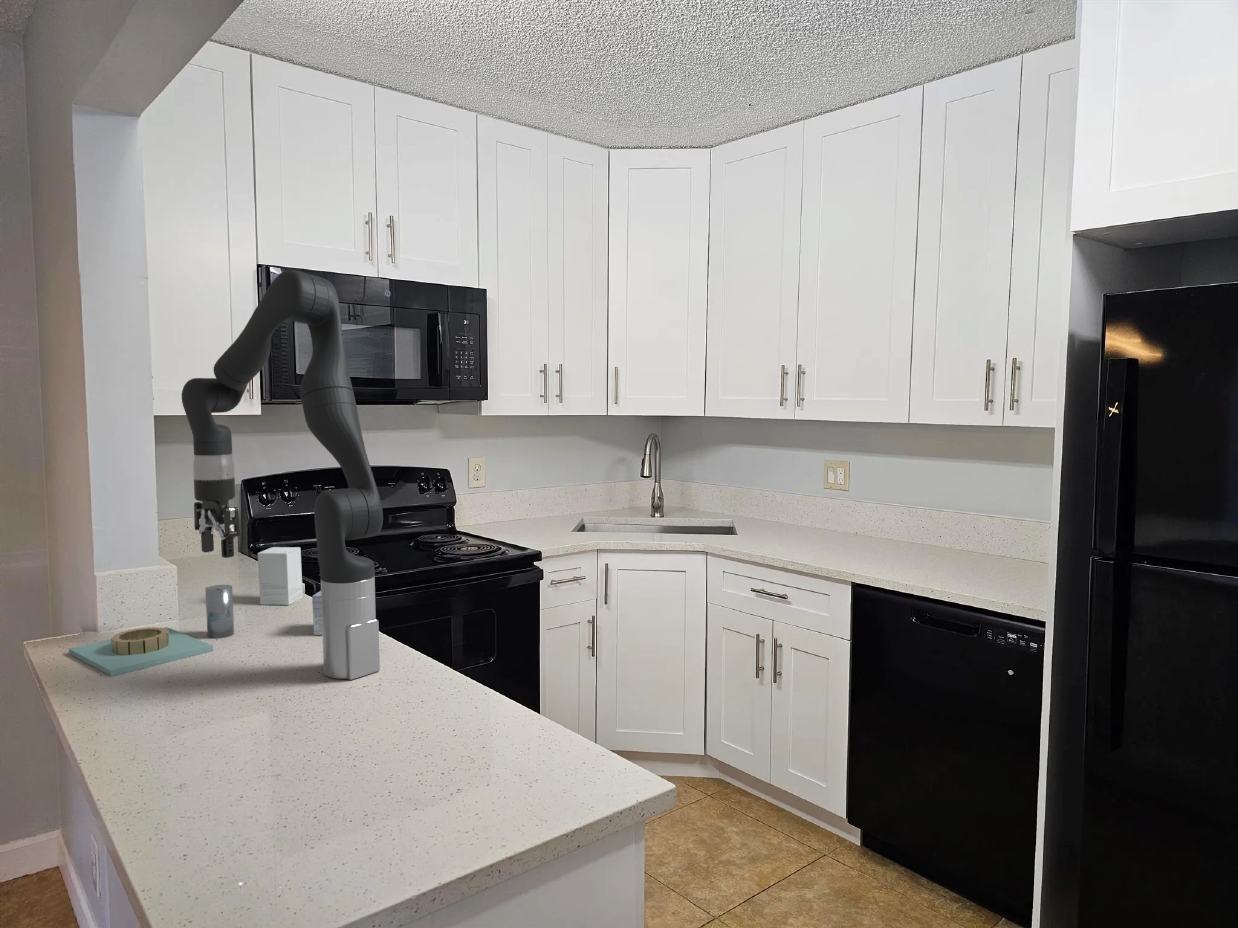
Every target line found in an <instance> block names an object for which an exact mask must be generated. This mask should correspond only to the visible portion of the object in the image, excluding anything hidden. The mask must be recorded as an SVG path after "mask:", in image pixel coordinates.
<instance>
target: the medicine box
mask: <svg viewBox="0 0 1238 928" xmlns="http://www.w3.org/2000/svg"><path fill="white" fill-rule="evenodd" d="M311 599H312V620H313V621H312V622H313V635H314V636H322V605H321V590H318V592H316V593H315V594H313V595H312V598H311Z"/></svg>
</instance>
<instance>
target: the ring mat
mask: <svg viewBox="0 0 1238 928" xmlns="http://www.w3.org/2000/svg"><path fill="white" fill-rule="evenodd" d="M164 628H165V629H167V630H169V644H168V646H167V647H165V648H163V649H160V650H158V651H153V652H149V653H144V654H136V655H118V654H115V653H113V652H112V644H111V639H106V640H102V641H97V642H92V643H88V644H83V645H79V646H73V647H69V648H68V654H69V655H70V656H73V657H75V658H76V659H78V660H81V661H82V662H83V663H86V664H88V665H90V666H91V667H93V668H95V669H97V670H99V671H101V672H103V673H104V674H106V675H108V676H110V677H114V676H118V675H121V674H125V673H129V672H133V671H137V670H140V669H145V668H148V667H153V666H158V665H161V664H165V663H169V662H172V661H177V660H181V659H186V658H188V657H194V656H196V655H202V654H205V653H209V652H212V651H214V649H213V648H214V646H213V645H212V644H209V643H207V642H204V641H202V640H200V639H198V638H195V637H193V636H190V635H187V634H185V633H184V632H183V633H182V632H180V631H178V630H176V629H173V628H170V627H168V626H166V627H165V626H164Z"/></svg>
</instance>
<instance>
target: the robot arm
mask: <svg viewBox="0 0 1238 928" xmlns="http://www.w3.org/2000/svg"><path fill="white" fill-rule="evenodd" d="M288 320H289V321H292V322H297V323H301V324H305V325H307V327H308V330H309V334H310V337H311V338H310V339H311V340H310V341H311V346H312V351H311V352H312V353H311V354H312V355H311V358H310V360H309V363H308V365H307V368H306V370H305V372H304V374H303V377H302V379H301V384H300V389H299V390H300V398H301V399H300V400H301V404H302V409H303V410H302V411H303V415H304V419H305V422H306V425H307V428H308V429H309V431H310V432H311V434H312V435H313V436H314V438H315V439H317V441H318V442H319V443H320V444H321V445H322V446H323V447H324V448H325V449H326V450H327V451H328V452H329V454H331V456H332V457H333V458H334V459H335V460H336V462H337V463H338V465H339V466H340V468H341V470H342V471H343V475H344V477H345V479H346V483H347V486H348V487H347V488H338V489H336V488H335V489H328V490H324V491H321V492H320V493H319V494H318V495H317V497H316V500H315V503H314V511H313V512H314V517H313V518H314V527H315V536H316V550H317V561H318V566H319V572H320V573H319V574H320V575H319V576H320V591H321V605H322V635H321V637H322V654H323V655H322V657H323V658H322V659H323V662H322V663H323V674H324V675H325V676H327V677H328V678H332V679H347V680H355V679H358V678H361V677H364V676H367V675H370V674H373V673H377V672H380V670H381V668H380V667H381V665H380V664H381V661H380V657H381V656H380V630H379V629H380V627H379V625H380V624H379V620H378V619H377V618H376V616H377V615H376V613H377V612H376V586H375V585H376V583H375V581H376V579H375V574H376V573H375V563H374V561H373V560H372V559H371V558H368V557H365V556H361V555H356V554H355V555H354V554H352V553H350V552H349V551H347V548H346V542H345V541H352V540H359V539H366V538H370V537H375V536H377V535H378V534H379V533H380V532H381V530H382V528H383V523H384V512H383V506H382V505H383V504H382V501H381V497H380V494H379V491H378V487H377V483H376V481H375V478H374V473H373V470H372V467H371V464H370V461H369V458H368V455H367V450H366V447H365V442H364V439H363V433H362V430H361V429H362V428H361V424H360V418H359V413H358V412H359V411H358V407H357V402H356V398H355V394H354V392H355V391H354V389H353V384H352V381H351V376H350V372H349V367H348V360H347V355H346V350H345V345H344V337H343V336H344V335H343V327H342V317H341V308H340V301H339V296H338V293H337V290H336V288H335V286H334V285H333V283H332V282H331V281H329V280H327V279H325V278H323V277H321V276H318V275H313V274H310V273H308V272H303V271H301V270H300V271H299V270H296V269H286V270H284V271H282V272H280V273H279V274H277V276H276V277H275V278H274V279H273V280H272V282H271V283H270V285H269V286H268V288H267V289H266V291H265V293H264V294H263V296H262V297H261V300H260V301H259V302H258V304H257V306H256V307H255V310H254V311H253V313H252V314H251V316H250V318H249V320H248V322H247V323H246V325H245V327H244V328H243V330H242V331H241V333H240V334H239V336H238V337H237V338H236V339H235V340H234V341H233V343H232V344H230V346H229V347H228V348H227V349H226V350H225V351H224V352H223V354H221V356H220V357H219V358H218V359H217V360H216V362H215V364H214V366H213V374H214V377H212V378H211V377H210V378H209V377H205V378H204V377H195V378H191V379H189V380H188V381H186V382H185V384H184V386H183V388H182V391H181V403H182V408H183V409H184V412H185V415H186V418H187V421H188V424H189V427H190V430H191V432H192V439H193V440H192V442H193V465H192V468H193V469H192V472H193V491H194V494H193V495H194V500H196V502H194V503H193V512H194V513H193V515H194V518H193V519H194V520H193V521H194V524H193V525H194V530H195V531H198V534H199V535H200V539H201V540H200V542H201V543H200V544H201V552H203V553H205V554H206V553H211V552H213V551H215V550H214V549H215V545H214V544H215V543H214V542H215V541H214V533H213V532H214V530H215V531H216V532H218V534H219V536H220V537H219V538H220V539H221V540H220V545H221V546H220V547H221V548H220V550H221V557H222V558H224V559H227V558H232V557H234V555H235V547H234V539H235V538H237V537H239V536H240V534H241V533H240V532H241V531H240V519H239V517H240V516H239V508H238V506H233V507H230V503H229V501H230V500H233V499H235V497H236V480H235V462H234V461H235V460H234V458H233V439H232V431H231V429H230V427H229V426H227V425H223V424H219V423H217V422H216V421H215V419H214V416H213V414H215V413H216V414H217V413H219V414H220V413H227V412H230V411H232V410H233V409H235V408H236V407H237V406H238V405H239V403H241V400H242V398H243V396H244V393H245V391H246V389H247V387H248V385H249V383H250V382H251V381H252V380H253V379H254V378H255V377H256V376H257V374H259V373H260V371H262V369H263V368H264V367H265V366H266V365H267V362H268V361H269V359H270V354H271V347H272V343H271V342H272V336H273V333H274V332H275V331H276V329H277V328H278V327H280V326H281V325H282V324H283V323H285V322H286V321H288Z"/></svg>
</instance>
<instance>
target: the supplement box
mask: <svg viewBox="0 0 1238 928" xmlns="http://www.w3.org/2000/svg"><path fill="white" fill-rule="evenodd" d="M301 551H302V550H301V547H299V546H294V547H292V546H291V547H290V546H282V547H281V546H273V547H269V548H267V549H265V550H264V549H263V550H261V551H260V552H257V562H258V563H257V564H258V584H259V585H258V586H259V587H258V588H259V601H260V605H262V606H263V605H266V606H267V605H270V606H271V605H272V606H274V605H275V606H276V605H277V606H290V605H291V604H294V603H296V602H298V601H299V600H302V599H303V593H304V592H303V576H302V574H303V573H302V552H301Z"/></svg>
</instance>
